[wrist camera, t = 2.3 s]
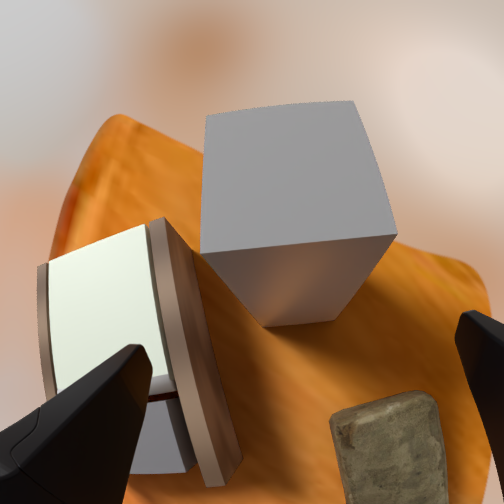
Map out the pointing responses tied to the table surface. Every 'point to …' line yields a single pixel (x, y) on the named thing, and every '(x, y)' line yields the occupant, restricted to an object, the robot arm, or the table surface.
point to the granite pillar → (293, 209)
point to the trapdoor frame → (174, 353)
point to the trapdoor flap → (119, 335)
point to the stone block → (392, 451)
